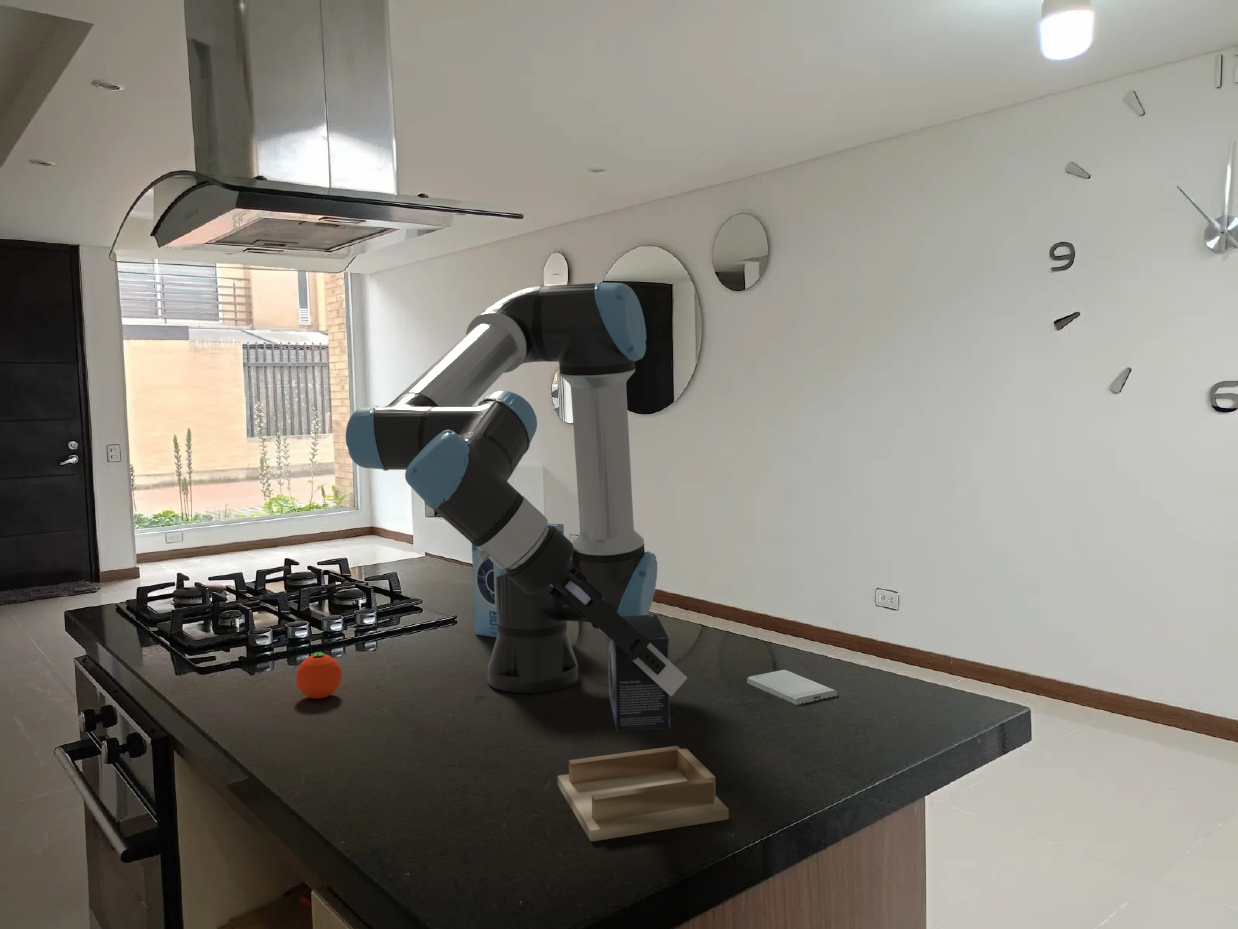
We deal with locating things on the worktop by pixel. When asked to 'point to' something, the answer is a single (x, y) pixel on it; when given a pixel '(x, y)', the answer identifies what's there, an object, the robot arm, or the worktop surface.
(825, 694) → the hard drive
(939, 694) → the worktop surface
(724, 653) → the worktop surface
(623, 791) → the tray
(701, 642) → the worktop surface
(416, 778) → the worktop surface
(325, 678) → the clementine
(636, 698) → the small box
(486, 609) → the gum box
